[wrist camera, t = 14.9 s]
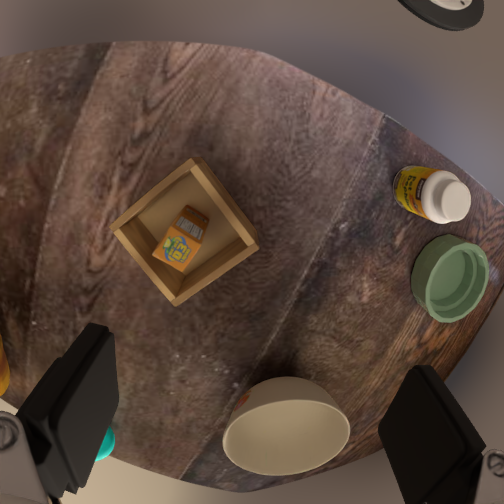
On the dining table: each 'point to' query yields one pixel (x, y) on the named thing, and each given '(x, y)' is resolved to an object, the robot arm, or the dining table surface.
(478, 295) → the green bowl
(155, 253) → the supplement box
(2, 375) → the decorative pumpkin
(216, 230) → the wooden holder
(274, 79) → the dining table surface
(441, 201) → the supplement bottle
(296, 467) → the bowl
